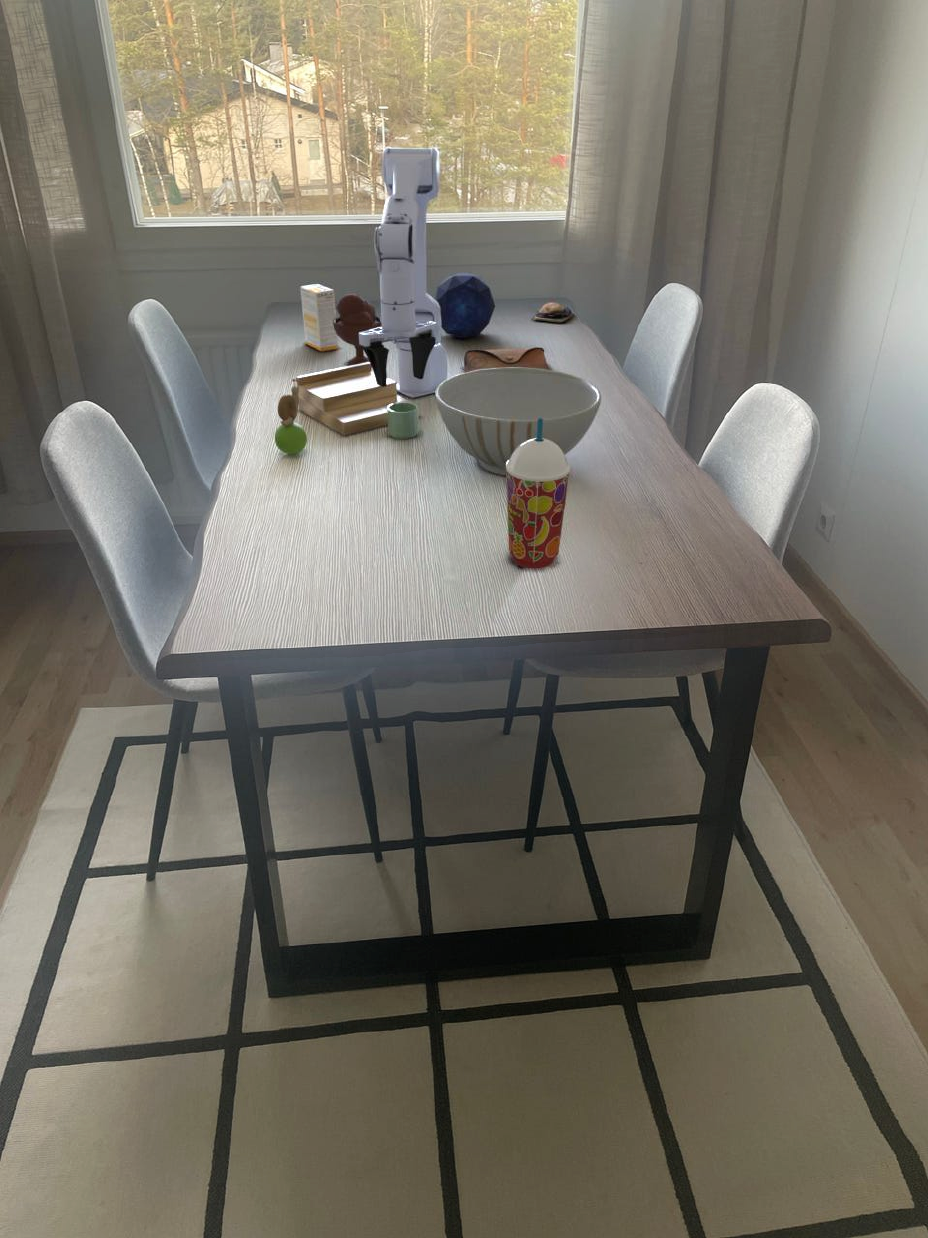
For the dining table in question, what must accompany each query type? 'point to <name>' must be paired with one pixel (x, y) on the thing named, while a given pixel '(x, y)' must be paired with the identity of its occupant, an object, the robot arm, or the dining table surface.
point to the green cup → (403, 420)
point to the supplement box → (319, 317)
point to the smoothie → (536, 500)
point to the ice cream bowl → (355, 323)
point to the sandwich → (553, 313)
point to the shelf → (347, 398)
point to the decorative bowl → (515, 410)
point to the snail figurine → (290, 424)
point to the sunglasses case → (505, 359)
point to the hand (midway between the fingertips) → (400, 381)
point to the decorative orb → (464, 305)
